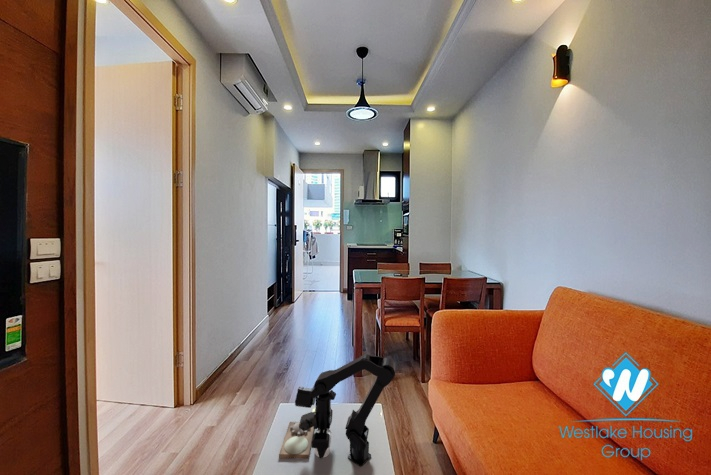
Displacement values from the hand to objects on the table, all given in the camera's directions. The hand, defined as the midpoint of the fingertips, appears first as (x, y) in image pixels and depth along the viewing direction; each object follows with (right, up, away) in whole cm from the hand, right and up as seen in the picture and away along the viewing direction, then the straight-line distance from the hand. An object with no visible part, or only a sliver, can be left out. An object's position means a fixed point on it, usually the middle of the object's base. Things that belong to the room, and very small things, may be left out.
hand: (322, 448), depth 109 cm
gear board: (-10, -1, +6) cm, 12 cm away
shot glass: (0, -2, 0) cm, 2 cm away
